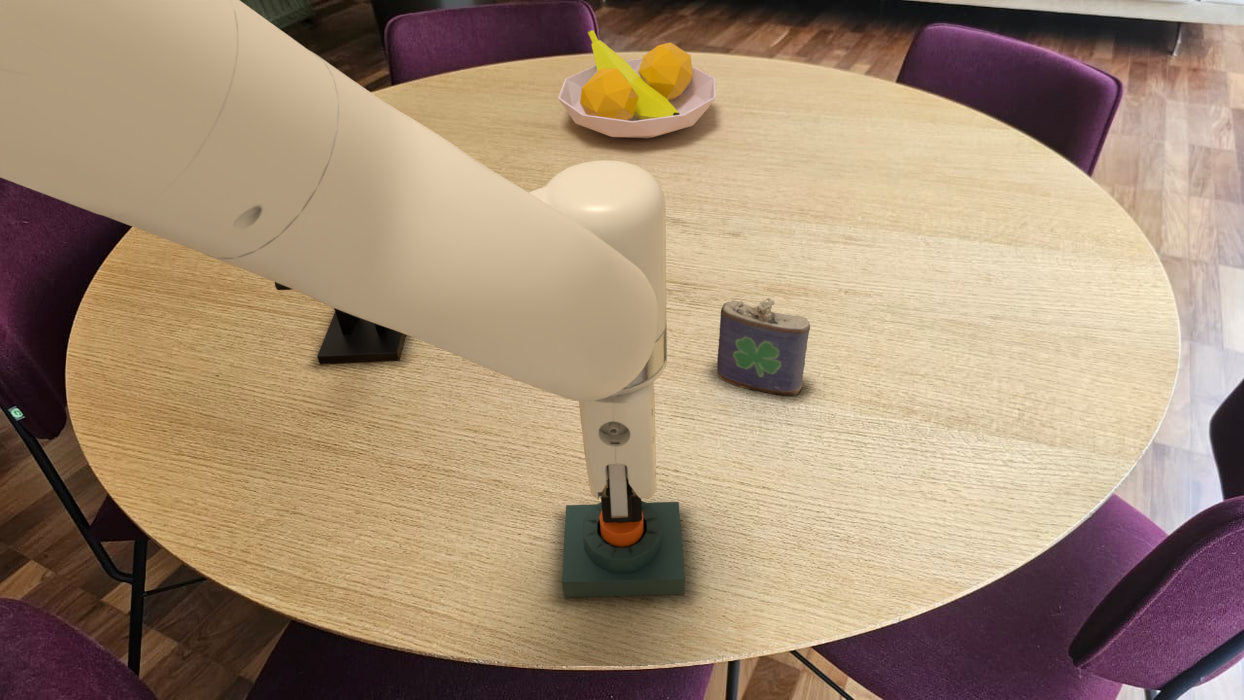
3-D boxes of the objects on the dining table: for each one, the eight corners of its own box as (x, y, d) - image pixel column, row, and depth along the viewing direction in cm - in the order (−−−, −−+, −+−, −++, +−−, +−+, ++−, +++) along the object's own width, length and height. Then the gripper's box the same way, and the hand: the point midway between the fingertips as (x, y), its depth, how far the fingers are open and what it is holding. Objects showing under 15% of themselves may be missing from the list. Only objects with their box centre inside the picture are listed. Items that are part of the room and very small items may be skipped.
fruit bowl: (739, 141, 131) (743, 72, 124) (575, 165, 127) (569, 95, 120) (688, 79, 152) (689, 17, 145) (546, 97, 148) (540, 34, 141)
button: (642, 512, 69) (642, 498, 68) (644, 546, 66) (643, 533, 65) (600, 513, 69) (599, 500, 68) (600, 548, 66) (599, 534, 65)
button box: (678, 517, 73) (678, 487, 70) (684, 594, 67) (685, 565, 64) (568, 520, 73) (564, 491, 71) (564, 597, 67) (559, 569, 64)
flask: (803, 384, 86) (815, 303, 79) (796, 401, 84) (807, 320, 77) (721, 363, 89) (724, 283, 82) (712, 380, 87) (715, 299, 80)
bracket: (399, 360, 92) (370, 258, 83) (319, 364, 92) (282, 262, 83) (416, 298, 101) (392, 200, 92) (344, 301, 101) (313, 204, 92)
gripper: (673, 418, 49) (673, 592, 61) (661, 277, 60) (663, 446, 72) (549, 423, 49) (573, 595, 61) (561, 281, 61) (579, 449, 72)
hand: (622, 514), depth 67 cm, fingers closed
